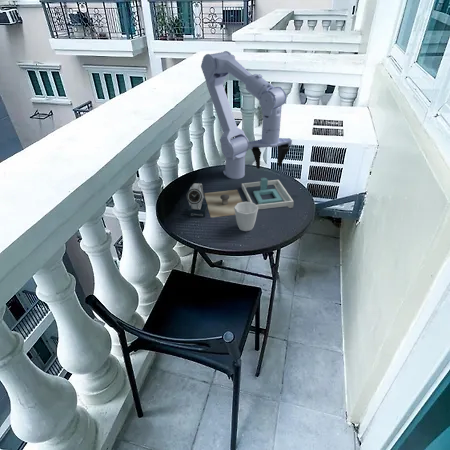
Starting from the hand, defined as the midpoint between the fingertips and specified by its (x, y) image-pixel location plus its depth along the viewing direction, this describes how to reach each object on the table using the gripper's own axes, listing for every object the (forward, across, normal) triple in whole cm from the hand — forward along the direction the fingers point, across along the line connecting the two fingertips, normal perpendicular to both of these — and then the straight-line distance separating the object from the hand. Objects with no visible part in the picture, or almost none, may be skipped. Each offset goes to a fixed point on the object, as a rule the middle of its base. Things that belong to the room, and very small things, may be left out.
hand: (268, 166), depth 115 cm
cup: (+10, -13, -21) cm, 26 cm away
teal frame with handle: (+9, -2, -7) cm, 11 cm away
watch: (+10, -26, -11) cm, 30 cm away
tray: (+9, -2, -6) cm, 11 cm away
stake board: (+9, -17, -7) cm, 21 cm away
